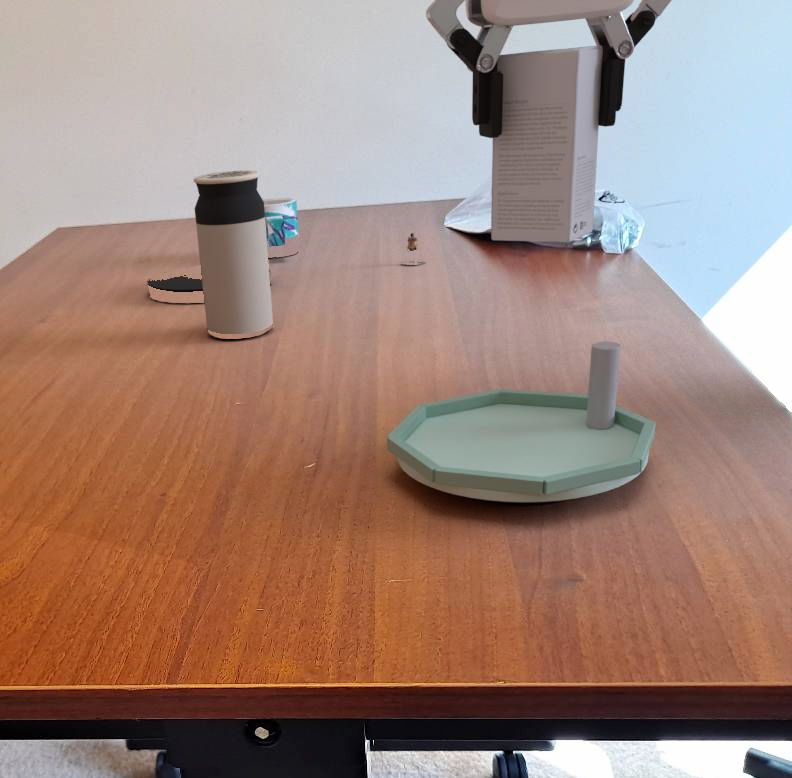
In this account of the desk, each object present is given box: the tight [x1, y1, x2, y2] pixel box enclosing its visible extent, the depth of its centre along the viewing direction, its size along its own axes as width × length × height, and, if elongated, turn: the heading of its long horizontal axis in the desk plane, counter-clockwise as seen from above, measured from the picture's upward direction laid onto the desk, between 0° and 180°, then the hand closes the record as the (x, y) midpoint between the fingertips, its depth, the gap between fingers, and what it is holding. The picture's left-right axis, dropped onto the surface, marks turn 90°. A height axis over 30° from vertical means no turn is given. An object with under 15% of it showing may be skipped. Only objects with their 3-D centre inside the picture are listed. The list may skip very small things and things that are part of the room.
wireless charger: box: [146, 269, 271, 292], centre depth 141 cm, size 18×18×2 cm
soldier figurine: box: [406, 232, 418, 251], centre depth 144 cm, size 2×1×4 cm, turn 46°
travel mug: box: [193, 170, 274, 334], centre depth 114 cm, size 8×8×18 cm
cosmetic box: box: [490, 45, 603, 243], centre depth 67 cm, size 6×4×12 cm
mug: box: [262, 197, 299, 247], centre depth 158 cm, size 8×12×8 cm
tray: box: [386, 341, 657, 502], centre depth 71 cm, size 18×18×7 cm
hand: (545, 128), depth 66 cm, fingers closed on cosmetic box, 7 cm apart
